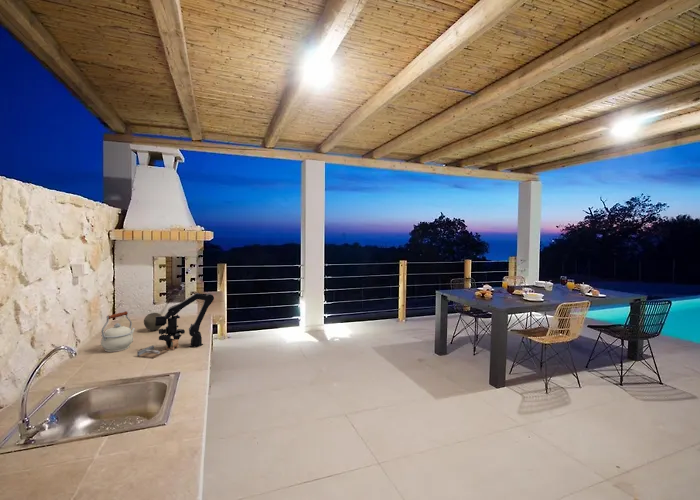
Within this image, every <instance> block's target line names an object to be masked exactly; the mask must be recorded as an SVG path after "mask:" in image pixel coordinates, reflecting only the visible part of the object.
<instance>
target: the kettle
mask: <svg viewBox="0 0 700 500" xmlns="http://www.w3.org/2000/svg"><path fill="white" fill-rule="evenodd" d="M128 314H129V312H128V311H122V312H118V313H114V314H109V315H106V322H105V323H104V325H103V327H102V329H101V339H100V346H101V347H102V349H104V351H105V352H109V353H114V352H121V351H125V350H127V349H129V348H130V345H131V344H132V343H133V341H134V337H133V334H134V332H135V329H136V328H135V327H132V325H133V323H132V320H131V319H130V318H129V316H128ZM123 316H125V318H126V319H127V320H128V321H129V326H125V325H121V323H118V322H117V323H115V324H114V325H113V326H112V327H109V328H107V329H106V330H105V328H106V326H107V325H108V323H109V320H111V319H115V318H120V317H123Z"/></svg>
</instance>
